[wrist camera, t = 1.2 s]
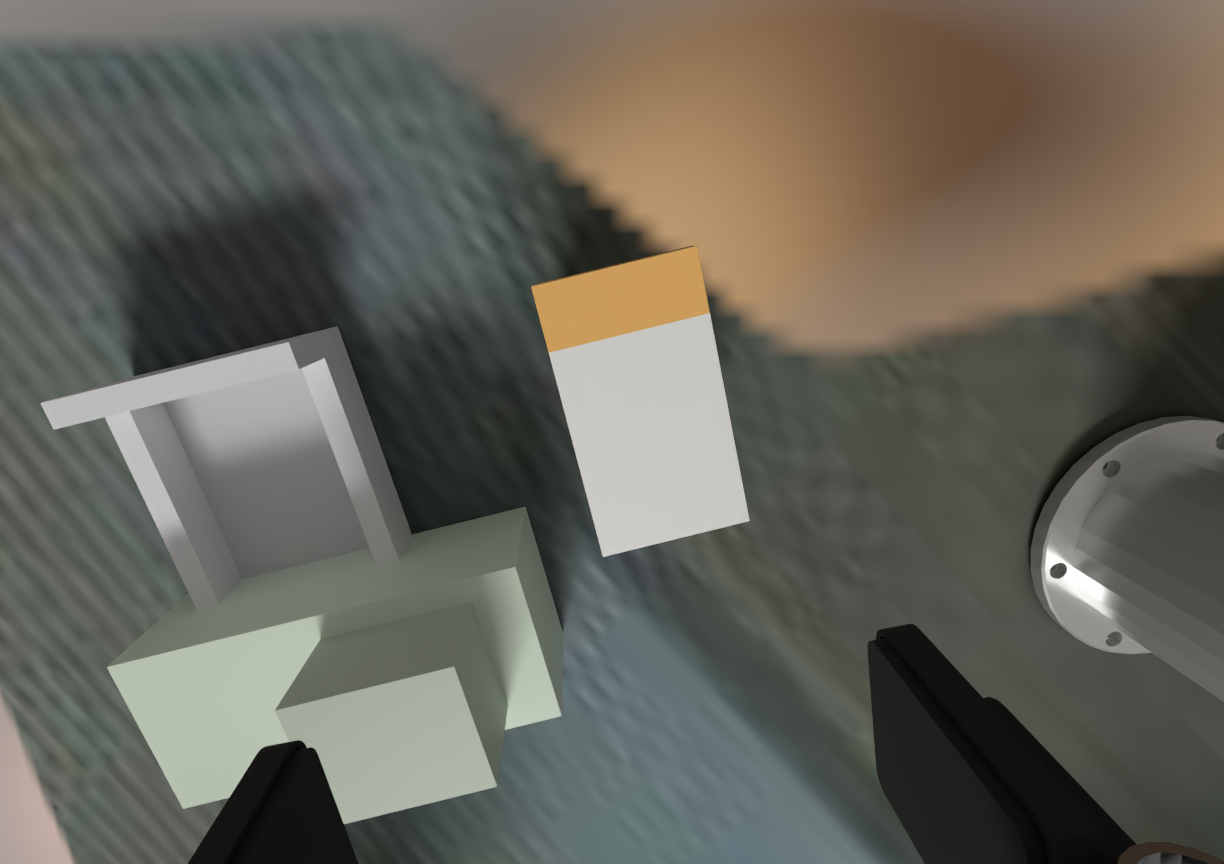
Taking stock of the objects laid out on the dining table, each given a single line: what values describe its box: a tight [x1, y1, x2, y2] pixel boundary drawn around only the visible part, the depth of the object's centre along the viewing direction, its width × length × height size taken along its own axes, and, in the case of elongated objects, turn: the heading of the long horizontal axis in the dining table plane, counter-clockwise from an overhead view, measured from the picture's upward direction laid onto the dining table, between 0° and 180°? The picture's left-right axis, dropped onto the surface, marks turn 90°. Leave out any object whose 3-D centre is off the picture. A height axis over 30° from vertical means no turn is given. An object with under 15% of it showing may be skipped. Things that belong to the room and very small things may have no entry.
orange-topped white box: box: [531, 246, 749, 557], centre depth 24 cm, size 5×9×9 cm, turn 13°
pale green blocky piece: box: [41, 326, 563, 824], centre depth 25 cm, size 16×17×10 cm
